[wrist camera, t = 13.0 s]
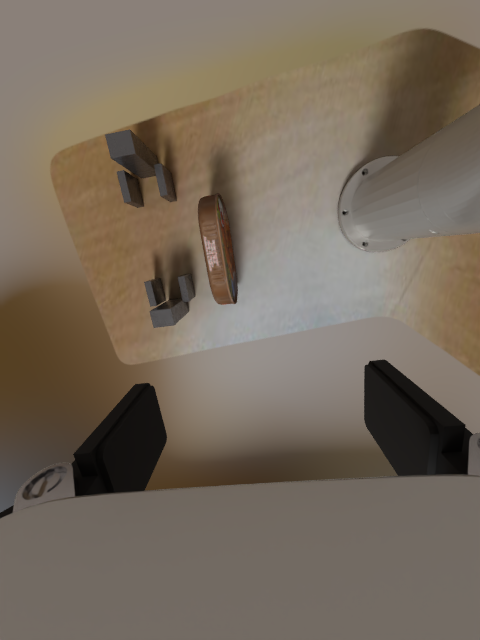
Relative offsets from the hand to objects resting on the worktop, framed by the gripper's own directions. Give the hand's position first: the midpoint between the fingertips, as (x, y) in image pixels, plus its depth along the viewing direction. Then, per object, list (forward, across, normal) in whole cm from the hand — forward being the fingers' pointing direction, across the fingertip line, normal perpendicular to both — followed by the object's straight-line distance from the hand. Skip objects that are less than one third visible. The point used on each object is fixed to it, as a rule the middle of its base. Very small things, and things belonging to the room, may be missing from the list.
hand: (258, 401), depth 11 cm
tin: (+31, +4, -7) cm, 32 cm away
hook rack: (+30, +13, -10) cm, 34 cm away
